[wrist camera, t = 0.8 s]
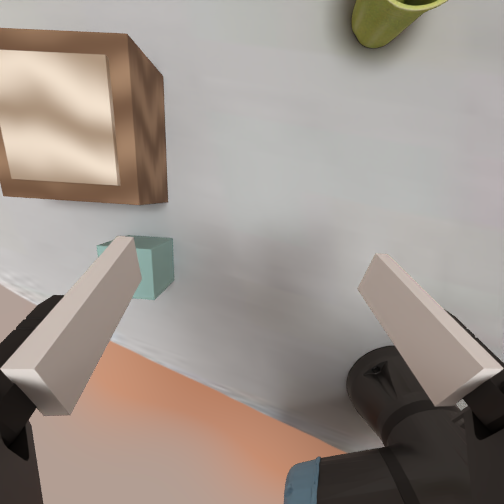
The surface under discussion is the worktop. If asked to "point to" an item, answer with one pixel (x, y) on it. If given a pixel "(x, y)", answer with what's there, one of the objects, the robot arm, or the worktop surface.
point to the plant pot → (386, 18)
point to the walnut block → (80, 118)
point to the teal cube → (151, 264)
